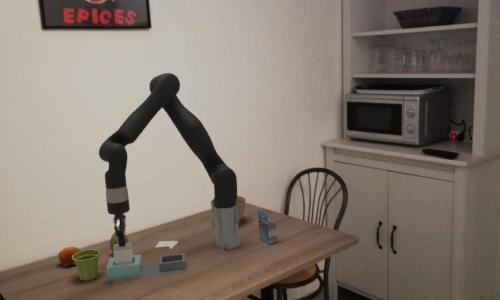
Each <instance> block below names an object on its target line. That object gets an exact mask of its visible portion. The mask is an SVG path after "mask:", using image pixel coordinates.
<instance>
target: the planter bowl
mask: <svg viewBox="0 0 500 300" xmlns="http://www.w3.org/2000/svg"><path fill="white" fill-rule="evenodd" d="M213 200H214V198H213V199H211V200H210V205H211V206H210V207H211V211H212V214H213V215H214V205H213ZM236 205H237V223H238V224H240V223H241V219H242V217H243V216H244V213H245V209H246V198H245V197H243V196H240V195H237V200H236Z"/></svg>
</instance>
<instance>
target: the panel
mask: <svg viewBox="0 0 500 300" xmlns="http://www.w3.org/2000/svg"><path fill="white" fill-rule="evenodd" d="M133 262H134V263H129V264H120V265H115V262H114V256H113V257H109V260H108V263H107V265H106V268H105V269H106V279H105V284H106V285H107V284H114V283H115V282H116V281H118V280H127V279H135V278H137V279H138V278H144V277H154V276H161V275H162V276H163V275H170V274H178V273H179V274H180V273H187V272H188V268H187V267H188V265H187V258H186V254H185V253H184V252H183V253H173V254H165V255H159V260H157V261H147V262H143V261H142V254H133Z"/></svg>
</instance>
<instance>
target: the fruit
mask: <svg viewBox="0 0 500 300" xmlns="http://www.w3.org/2000/svg"><path fill="white" fill-rule="evenodd" d="M80 251H81V250H80V248H78V247H77V246H67V247H64V248H63V249H61V250H60V251H59V252H58V254H57V255H58V260H59V262H60V264H61V265H62V266H64V267H65V268H67V267H69V266H72V265H75V266H76V264H75V262H74V260H73V259H72V256H73V255H74V254H75V253H77V252H80Z"/></svg>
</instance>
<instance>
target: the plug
mask: <svg viewBox="0 0 500 300" xmlns="http://www.w3.org/2000/svg"><path fill="white" fill-rule="evenodd" d="M112 253H113V257H114V262H115V265H120V264H129V263H134V262H133V255H134V254H133V243H132V242H128V243H126V244H125V246H119V244H114V247H113V251H112Z"/></svg>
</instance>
